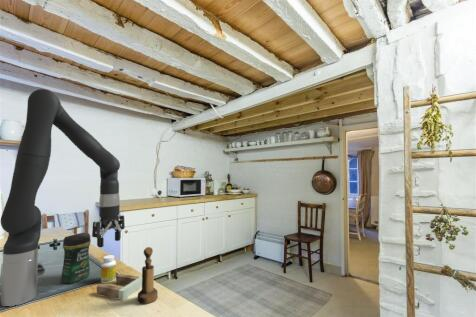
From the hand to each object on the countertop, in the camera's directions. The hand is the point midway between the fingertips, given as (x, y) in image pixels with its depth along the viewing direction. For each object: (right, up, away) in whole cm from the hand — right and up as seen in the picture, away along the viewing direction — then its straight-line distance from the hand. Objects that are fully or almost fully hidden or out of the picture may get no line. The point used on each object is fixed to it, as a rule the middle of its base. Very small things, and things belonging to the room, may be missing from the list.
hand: (109, 243), depth 100 cm
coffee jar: (-14, -15, +1) cm, 21 cm away
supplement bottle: (0, -15, -1) cm, 15 cm away
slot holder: (+8, -15, -8) cm, 19 cm away
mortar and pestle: (+22, -15, -15) cm, 30 cm away
